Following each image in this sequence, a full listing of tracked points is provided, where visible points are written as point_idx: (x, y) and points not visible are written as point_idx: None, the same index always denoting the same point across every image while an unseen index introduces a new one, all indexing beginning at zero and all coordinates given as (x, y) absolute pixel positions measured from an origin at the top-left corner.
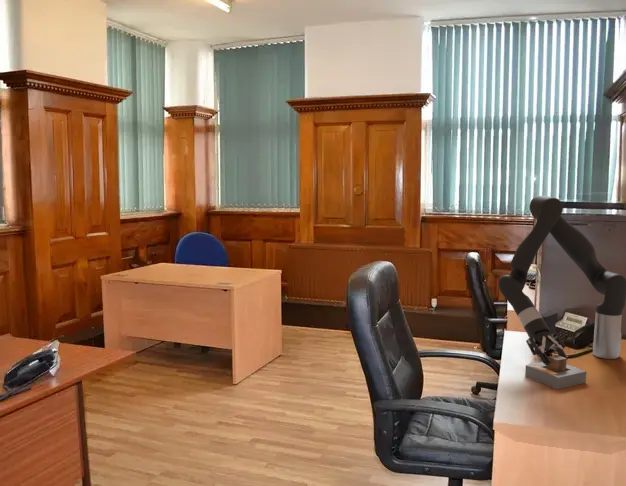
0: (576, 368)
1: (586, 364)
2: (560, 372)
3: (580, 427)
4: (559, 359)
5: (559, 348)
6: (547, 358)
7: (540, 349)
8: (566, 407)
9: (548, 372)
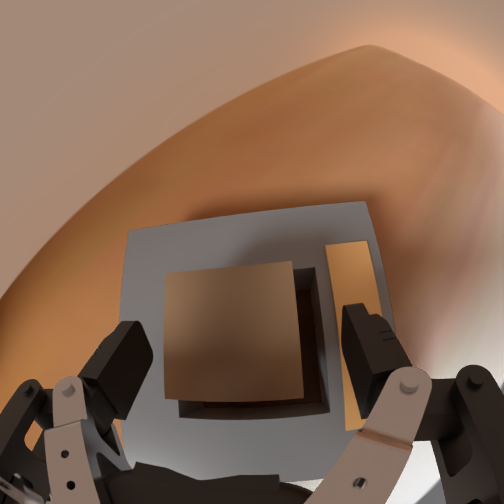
0: (130, 286)
1: None
2: None
3: (422, 72)
4: (255, 272)
5: (88, 401)
6: (365, 325)
7: (418, 422)
8: (411, 120)
9: (375, 280)
